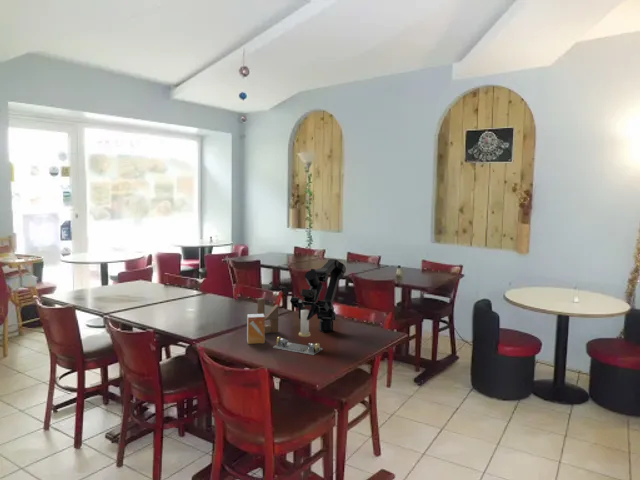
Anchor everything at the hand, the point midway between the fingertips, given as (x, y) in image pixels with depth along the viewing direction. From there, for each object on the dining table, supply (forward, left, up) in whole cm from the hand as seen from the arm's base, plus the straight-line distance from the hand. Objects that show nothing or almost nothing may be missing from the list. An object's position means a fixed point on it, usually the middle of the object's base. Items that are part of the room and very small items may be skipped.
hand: (303, 319), depth 221 cm
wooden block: (+9, -27, -13) cm, 31 cm away
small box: (+19, -14, -13) cm, 27 cm away
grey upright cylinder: (-1, -1, -8) cm, 8 cm away
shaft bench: (+4, +3, -13) cm, 14 cm away
